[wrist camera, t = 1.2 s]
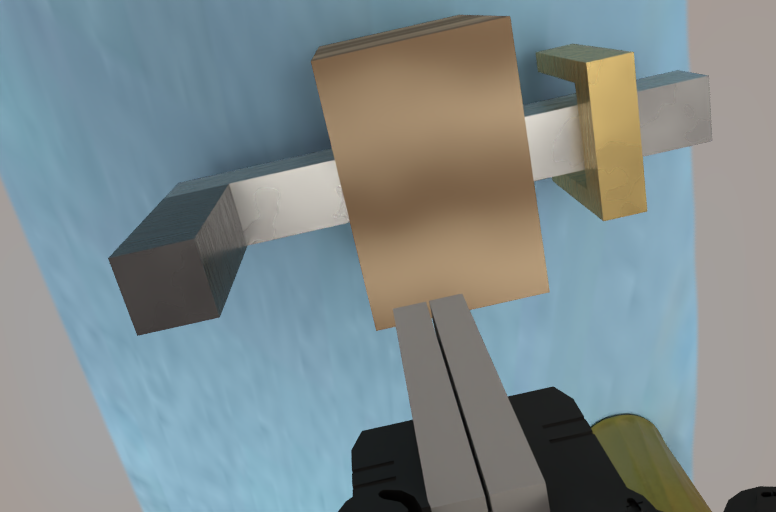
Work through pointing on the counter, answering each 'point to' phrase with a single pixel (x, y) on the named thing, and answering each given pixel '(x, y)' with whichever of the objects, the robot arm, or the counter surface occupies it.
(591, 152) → the collar
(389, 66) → the block
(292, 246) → the counter surface
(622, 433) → the vase
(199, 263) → the shaft
